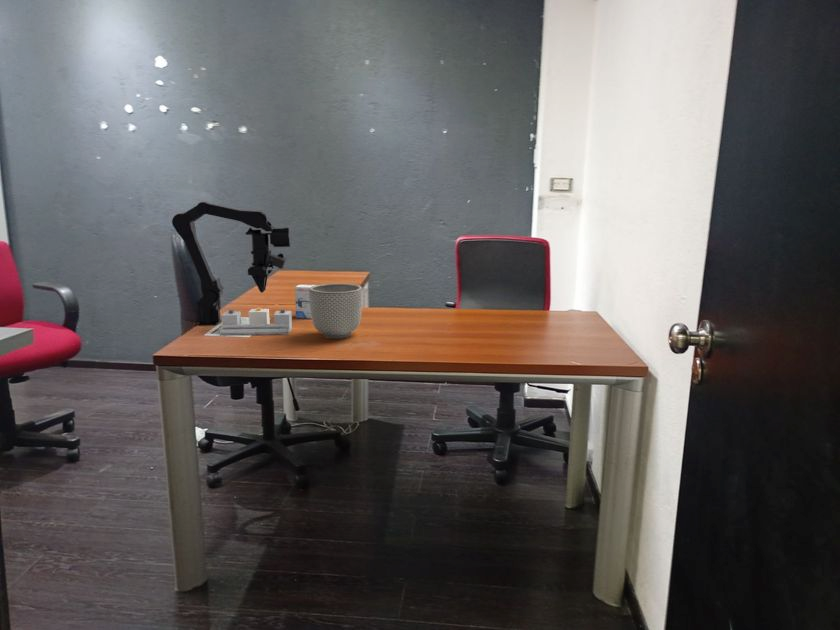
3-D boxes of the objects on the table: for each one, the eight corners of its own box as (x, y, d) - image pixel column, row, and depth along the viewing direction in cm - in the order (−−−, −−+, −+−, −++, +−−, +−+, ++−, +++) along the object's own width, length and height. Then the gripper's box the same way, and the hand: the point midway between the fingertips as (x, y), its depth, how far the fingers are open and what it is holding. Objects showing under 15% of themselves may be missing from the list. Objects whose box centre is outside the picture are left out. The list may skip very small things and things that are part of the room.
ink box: (295, 318, 227) (294, 286, 224) (299, 315, 232) (298, 284, 229) (318, 319, 226) (317, 287, 224) (321, 315, 231) (320, 284, 228)
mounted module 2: (274, 332, 206) (273, 311, 205) (277, 328, 212) (276, 308, 211) (289, 332, 207) (288, 311, 205) (291, 327, 213) (291, 307, 211)
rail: (220, 335, 202) (219, 326, 202) (222, 333, 205) (222, 324, 205) (288, 334, 204) (288, 325, 203) (289, 332, 207) (289, 323, 206)
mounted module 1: (222, 333, 205) (221, 312, 204) (226, 328, 211) (225, 308, 209) (237, 332, 206) (236, 312, 204) (241, 328, 211) (240, 308, 210)
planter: (318, 345, 191) (317, 294, 188) (304, 332, 207) (302, 285, 203) (371, 339, 199) (370, 290, 195) (353, 327, 214) (352, 281, 210)
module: (249, 329, 211) (248, 309, 209) (252, 325, 216) (251, 306, 214) (267, 329, 211) (266, 309, 210) (269, 325, 216) (268, 306, 215)
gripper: (280, 250, 207) (282, 296, 210) (287, 244, 225) (289, 286, 229) (246, 250, 206) (248, 296, 210) (256, 244, 224) (258, 286, 228)
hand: (262, 291), depth 219 cm, fingers open, 3 cm apart
